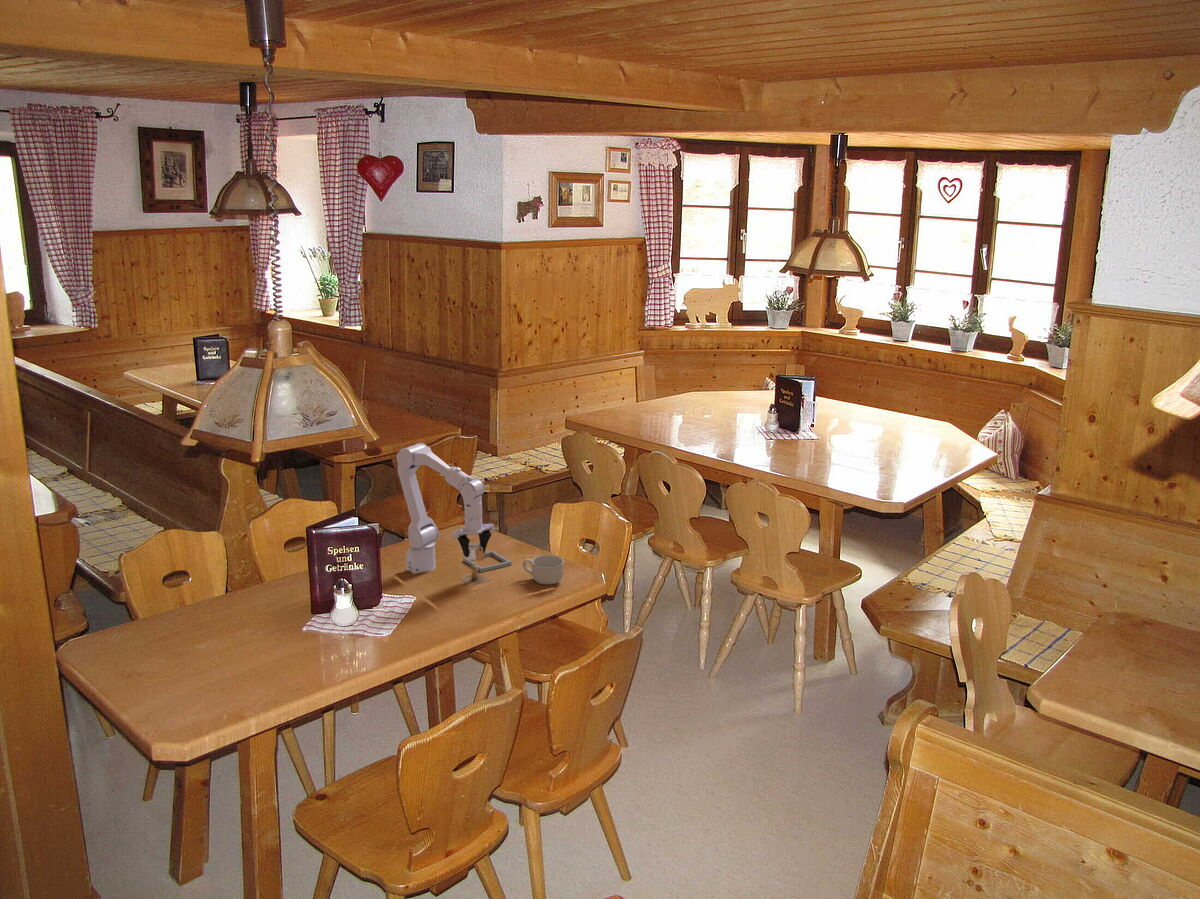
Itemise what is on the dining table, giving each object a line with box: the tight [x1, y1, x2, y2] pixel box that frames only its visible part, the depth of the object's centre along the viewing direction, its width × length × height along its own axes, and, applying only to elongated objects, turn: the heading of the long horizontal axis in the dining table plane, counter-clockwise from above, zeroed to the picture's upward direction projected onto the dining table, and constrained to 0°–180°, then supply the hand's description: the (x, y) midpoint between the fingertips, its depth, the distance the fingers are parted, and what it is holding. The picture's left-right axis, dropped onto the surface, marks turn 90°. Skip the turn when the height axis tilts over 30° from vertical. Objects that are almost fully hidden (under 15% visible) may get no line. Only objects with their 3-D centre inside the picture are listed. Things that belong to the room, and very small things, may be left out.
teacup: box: [522, 554, 565, 586], centre depth 330 cm, size 14×11×8 cm
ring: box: [466, 543, 485, 562], centre depth 328 cm, size 6×7×4 cm
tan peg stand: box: [458, 566, 492, 587], centre depth 330 cm, size 8×8×5 cm
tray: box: [462, 550, 513, 573], centre depth 345 cm, size 12×13×2 cm
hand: (474, 554), depth 329 cm, fingers closed on ring, 6 cm apart
